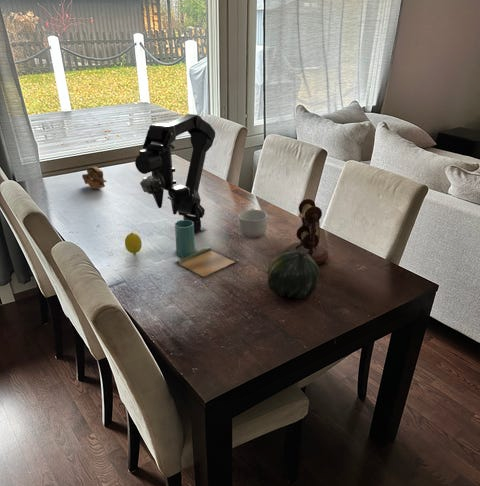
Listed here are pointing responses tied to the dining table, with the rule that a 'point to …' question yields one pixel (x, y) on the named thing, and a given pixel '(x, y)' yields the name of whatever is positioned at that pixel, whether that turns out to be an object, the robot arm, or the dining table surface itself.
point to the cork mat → (204, 262)
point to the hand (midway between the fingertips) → (167, 210)
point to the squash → (293, 274)
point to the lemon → (133, 243)
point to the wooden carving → (94, 178)
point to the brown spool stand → (309, 233)
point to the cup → (184, 237)
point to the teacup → (253, 222)
